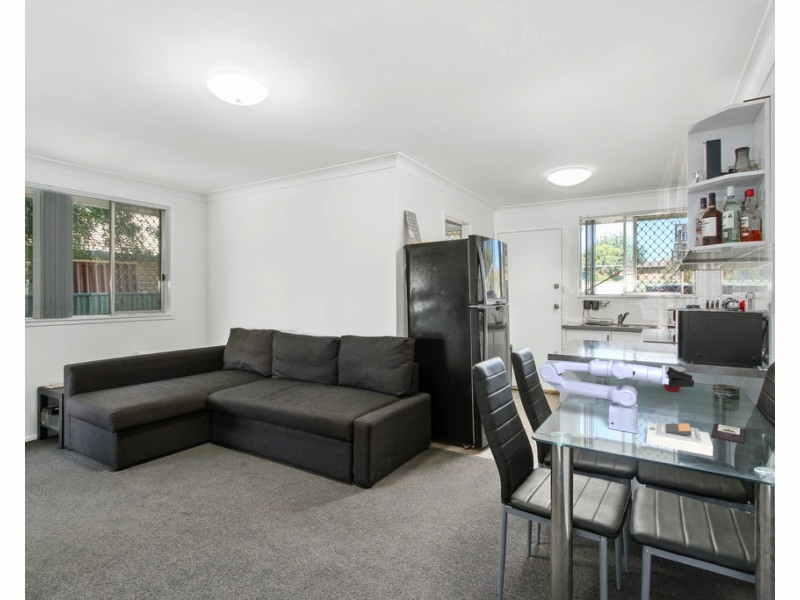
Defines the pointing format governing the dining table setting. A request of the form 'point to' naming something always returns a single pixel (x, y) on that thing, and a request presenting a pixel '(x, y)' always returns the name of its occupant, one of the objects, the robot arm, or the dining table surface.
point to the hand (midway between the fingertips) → (692, 381)
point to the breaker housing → (679, 439)
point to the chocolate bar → (728, 433)
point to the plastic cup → (677, 370)
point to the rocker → (678, 429)
